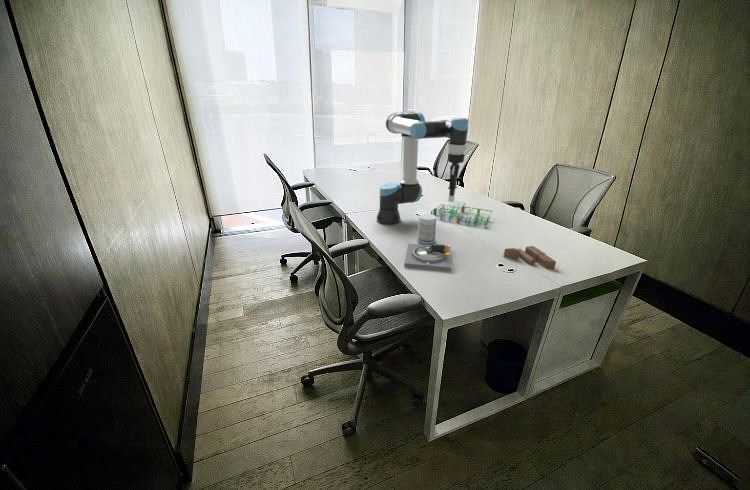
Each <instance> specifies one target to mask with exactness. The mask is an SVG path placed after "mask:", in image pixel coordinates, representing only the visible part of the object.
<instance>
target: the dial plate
mask: <svg viewBox="0 0 750 490" xmlns="http://www.w3.org/2000/svg"><path fill="white" fill-rule="evenodd" d="M427 246H431V244H422V243H420V244H419V243H418V244H416V243H408V244H407V250H406V253H405V259H404V264H403V265H404V268H412V269H413V268H415V269H424V270H434V271H435V270H436V271H444V272H445V271H447V272H452V256H451V255H452V254H451V246H448V251H447V253H441V256H440V257H439V258H435V259H426V258H422V257H419V256H417V254H416V253H417V250H418V249H419V248H421V247H427Z"/></svg>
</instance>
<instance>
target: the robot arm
mask: <svg viewBox="0 0 750 490" xmlns="http://www.w3.org/2000/svg"><path fill="white" fill-rule="evenodd" d="M385 127H386V130H387V131H388V132H389V133H392V134H401V135H400V136H401V138H402V139H403V149H402V150H403V152H402V153H403V154H402V155H403V156H402V157H403V159H402V160H403V161H402V179H401V180H400V181H399V182H400V183H396V182H388V183H384V184H382V185H381V186H380V187H379V208H378V212H377V215H376V221H377V223H380V224H381V225H387V226H388V225H389V226H390V225H391V226H392V225H397V224H398V223H400V222H401V215H400V211H399V205H404V204H411V203H417V202H420V201H419V200H420V199H421V197H422V194H423V189H422V188H423V187H422V184H420V182H419V180H418V178H417V176H418V175H417V173H418V153H419V152H418V151H419V140H422V139H438V138H442V139H443V138H447V139H449V143H448V154H447V161H448V163H451V165H450V167H449V168H450V169H449V170H450V171H449V185H448V188H447V189H448V199H447V200H448V203H453V202H455V199H456V198H455V195H456V189H458V186H457V183H458V176H459V169H460V165H459V164H462V163H464V161H465V153H466V149H467V138H468V130H469V119H468V118H466V117H454V118H452V119H451V121H450V120H448V119H441V120H437V121H436V120H434V121H433V120H432V121H426V119H425V116H424V114H423V113H422V112H421V111H415V110H414V111H397V112H393V113H391V114H389V115H388V116H387V118H386V120H385Z"/></svg>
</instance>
